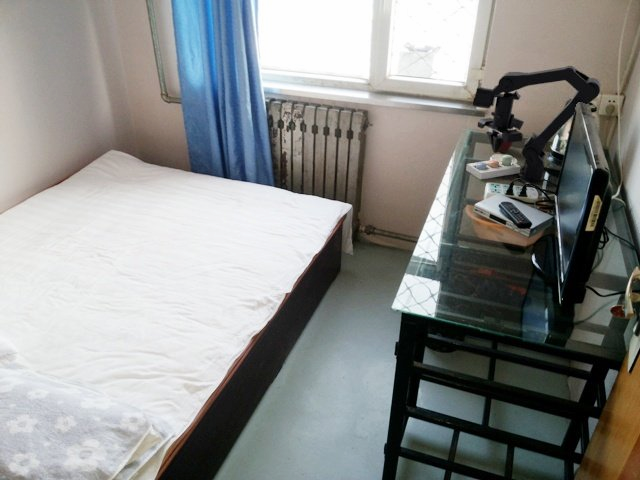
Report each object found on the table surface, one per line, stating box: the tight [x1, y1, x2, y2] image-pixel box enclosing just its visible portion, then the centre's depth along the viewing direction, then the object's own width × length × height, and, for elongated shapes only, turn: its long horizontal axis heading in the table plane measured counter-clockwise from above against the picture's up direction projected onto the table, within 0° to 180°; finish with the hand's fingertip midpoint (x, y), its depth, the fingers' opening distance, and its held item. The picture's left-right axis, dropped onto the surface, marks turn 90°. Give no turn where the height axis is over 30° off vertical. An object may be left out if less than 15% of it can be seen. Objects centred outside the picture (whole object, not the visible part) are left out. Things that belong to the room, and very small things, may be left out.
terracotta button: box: [488, 159, 499, 168], centre depth 191 cm, size 4×4×3 cm
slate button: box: [476, 161, 487, 170], centre depth 189 cm, size 4×4×3 cm
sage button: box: [501, 154, 513, 166], centre depth 192 cm, size 4×4×3 cm
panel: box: [465, 159, 521, 180], centre depth 192 cm, size 9×17×2 cm, turn 110°
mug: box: [498, 127, 518, 153], centre depth 209 cm, size 10×8×10 cm
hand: (495, 152), depth 188 cm, fingers closed
